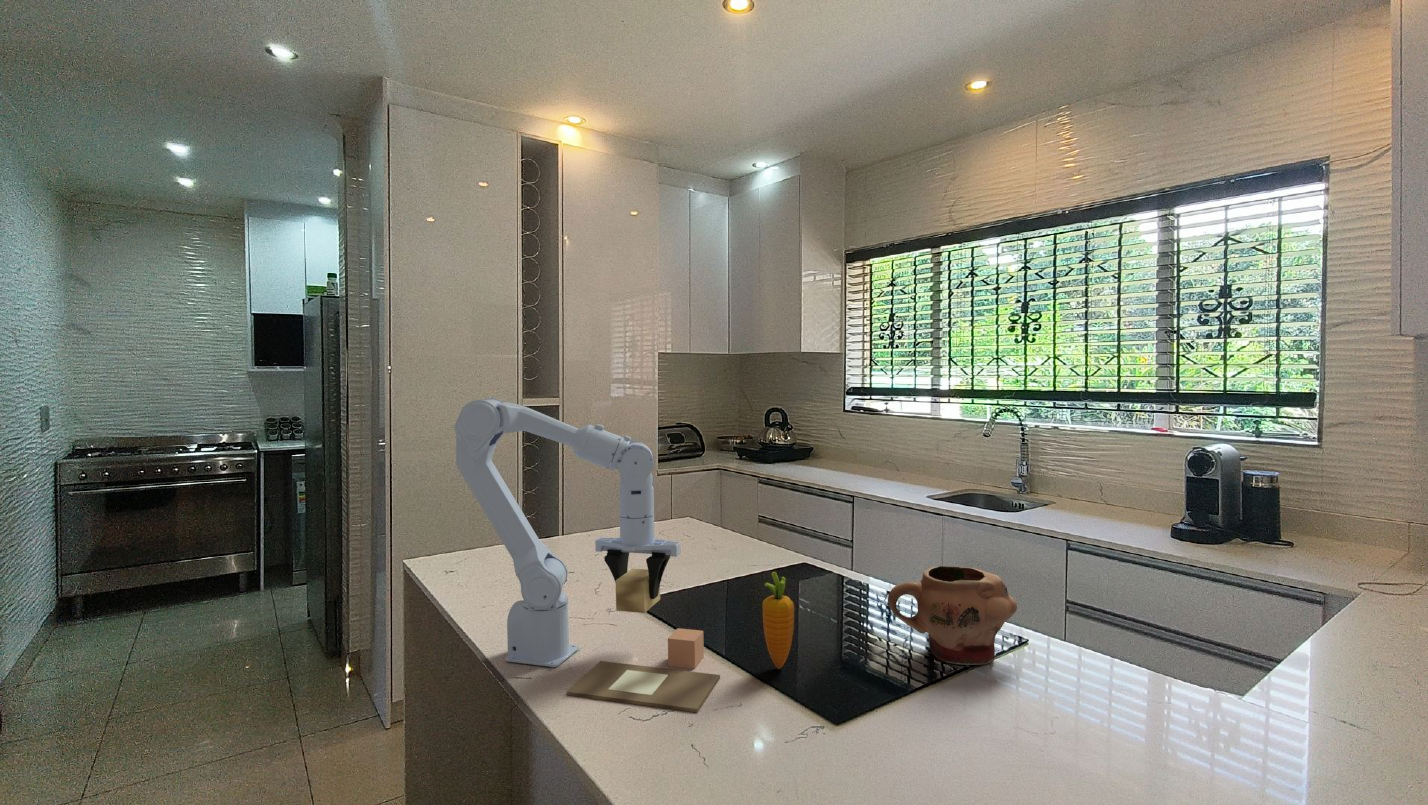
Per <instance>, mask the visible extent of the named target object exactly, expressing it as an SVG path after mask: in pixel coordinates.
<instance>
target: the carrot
mask: <svg viewBox="0 0 1428 805" xmlns="http://www.w3.org/2000/svg"><path fill="white" fill-rule="evenodd" d="M771 577H772V580H773V583H774V584H771V583H769V582H765V583H764V587H766V588H767V589H769V590H770V591H771V592H772V594H773V595H770V596H768V597H766V598H764V600H762V623H763V624H762V625H763V633H764V639H765V643H766V648H767V651H768V654H769V656H770V659H771V660H772V661H771V662H773V664H774V667H775V668H776V669H777V670H780V669H782V667H784V664H785V663H786V661H787V660H788V656H789V653H790V651H791V646H792V642H793V636H794V631H795V630H794V628H795V626H794V624H795V604H794V601H793V600H791V598H790V597H789V596H787V595H784V592H785V588H786V581H787V580H786V578H785V577H784V576H781V580H780V579H779V577H778V574H777V572H776V571H772V573H771Z"/></svg>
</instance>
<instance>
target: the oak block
mask: <svg viewBox="0 0 1428 805" xmlns="http://www.w3.org/2000/svg"><path fill="white" fill-rule="evenodd" d="M615 581H616V583H615V611H617V612H627V613H641V614H645V613H647V612H648V611H649V610H650V609H651V608H652V607H653V606H654V605H656V604H657V603H658V602H659V601H661V586H660V587H659V593H658V596H657V597H656V598H655V599H650V594H649V573H648V569H643V568H632V569H630V570H627V573H625V574H624V575H623V576H621V577H620V578H618V579H617V580H614V582H615Z"/></svg>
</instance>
